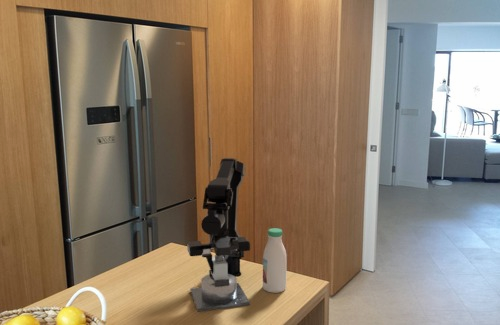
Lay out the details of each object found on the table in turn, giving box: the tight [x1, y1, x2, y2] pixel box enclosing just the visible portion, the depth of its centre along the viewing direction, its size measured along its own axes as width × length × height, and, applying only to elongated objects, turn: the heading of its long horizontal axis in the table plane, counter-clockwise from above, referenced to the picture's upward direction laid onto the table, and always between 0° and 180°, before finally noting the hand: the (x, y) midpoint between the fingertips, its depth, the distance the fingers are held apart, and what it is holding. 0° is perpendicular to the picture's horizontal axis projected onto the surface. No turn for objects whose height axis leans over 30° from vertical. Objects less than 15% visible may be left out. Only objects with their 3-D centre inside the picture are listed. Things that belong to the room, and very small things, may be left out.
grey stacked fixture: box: [190, 269, 251, 313], centre depth 144 cm, size 16×14×8 cm
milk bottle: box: [262, 227, 288, 294], centre depth 150 cm, size 8×8×20 cm
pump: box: [211, 254, 228, 280], centre depth 143 cm, size 4×6×6 cm, turn 16°
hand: (219, 272), depth 143 cm, fingers closed on pump, 4 cm apart
